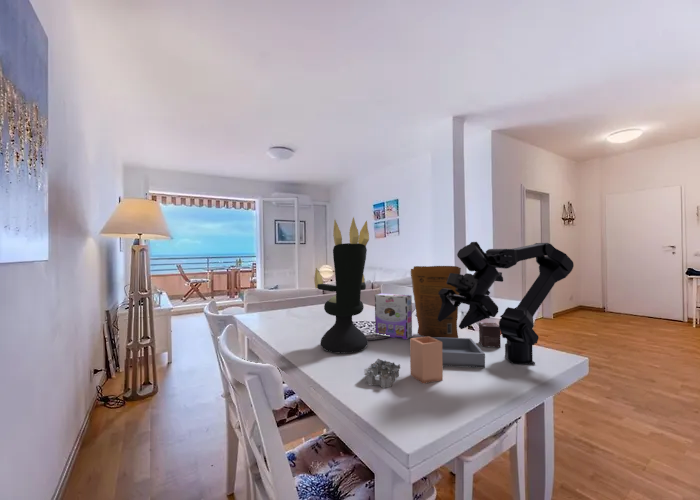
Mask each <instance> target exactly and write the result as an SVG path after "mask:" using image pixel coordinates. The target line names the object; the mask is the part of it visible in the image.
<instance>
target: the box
mask: <svg viewBox="0 0 700 500" xmlns="http://www.w3.org/2000/svg"><path fill="white" fill-rule="evenodd" d="M478 336H479V337H478V342H479V343H480V345H481V346H482V347H483V348H501V331H500V327H499V324H498V323H496V322H478Z"/></svg>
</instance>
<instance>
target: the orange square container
mask: <svg viewBox="0 0 700 500" xmlns="http://www.w3.org/2000/svg"><path fill="white" fill-rule="evenodd" d="M409 341H410V342H409V343H410V344H409V345H410V346H409V349H410V350H409V353H410V355H409V356H410V363H409V364H410V366H409V367H410V372H409V373H410V376H411V377H413V379H416V381H418V382H420V383H422V384H423V385H424V384H428V383H434V382H440V381H443V380H444V379H443V377H444V376H443V374H444V373H443V367H444V366H443V363H442V342H441V341H439V340H437V339H434V338H432V337H430V336H419V337H417V336H416V337H410V338H409Z"/></svg>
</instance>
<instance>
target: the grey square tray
mask: <svg viewBox="0 0 700 500" xmlns="http://www.w3.org/2000/svg"><path fill="white" fill-rule="evenodd" d="M432 338H434V339H437V340H439V341H441V342H442V363H443V367H455V368H457V367H461V368H479V369H480V368H482V369H483V368H484V369H485V368H486V354H485V352H484V351H483V350H482V349H481V347H479V345H478V344H477V342H475V341H474V340H473V338H471V337H470V338H468V337H458V338H442V337H432Z"/></svg>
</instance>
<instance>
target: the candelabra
mask: <svg viewBox="0 0 700 500" xmlns="http://www.w3.org/2000/svg"><path fill="white" fill-rule="evenodd" d="M349 227H350V228H349V232H348V233H349V234H348V235H349V243H343V241H342V240H343V238H342V237H343V235H342V231H341V230H340V227H339V225H338V223H337V220H336V219H334V221H333V235H332V236H333V240H334V241H333V242H334V246H333V249H332V255H333V257H332V258H333V266H334V276H335V277H334V278H335V285H334V284H333V285H332V284H328V283H324V281H323V275H322V274H321V273H320V271H319V270H318V268H317V267H316V268H315V270H314V271H315V272H314V277H313V278H314V287H315V289H317V290H321V291H326V292H333V293H334V292H335V295H333V296H332V297H330V298H329V299H328V300H327V301H326V302H325V303H324V305H323V308H324V309H323V310H324V311H325V313H326V314H328V315H330V316H333V317H334V316H335V322H334V324H333V325H332V326H331V327H330V328H329V329H328V330H326V332H325V333H324V334H323V335H322V337H321V338H320V339H321V340H320V343H319V344H320V347H321V348H322V349H323V350H324V351H327V352H328V353H329V352H330V353H336V354H350V353H357V352H360V351H362V350H365V349H366V347H367V346H368V345H369V341H368V338H367V336H366V335H365V333H364V332H363V331H362V330H360V329H359V328H358V327H357V326H356V325H355V323H354V321H353V317H354V316H357V315H360V314H361V313H362V312H363V311H364V307H365V306H364V304H363V302H362V301H361V292H362V291H365V290H366V289H367V284H366V281H365V275H364V271H365V266H366V259H367V250H368V249H367V244H368V243H369V241H370V232H369V228H368V220H366V221H365V222H364V224H363V225H362V227H361V229H360V231H359V229H358V228H357V227H358V226H357V224H356V221H355V216H353V217H352V220H351V223H350V226H349Z"/></svg>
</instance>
